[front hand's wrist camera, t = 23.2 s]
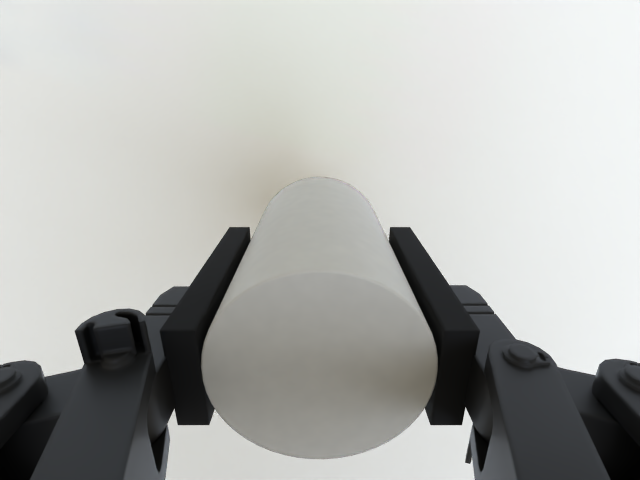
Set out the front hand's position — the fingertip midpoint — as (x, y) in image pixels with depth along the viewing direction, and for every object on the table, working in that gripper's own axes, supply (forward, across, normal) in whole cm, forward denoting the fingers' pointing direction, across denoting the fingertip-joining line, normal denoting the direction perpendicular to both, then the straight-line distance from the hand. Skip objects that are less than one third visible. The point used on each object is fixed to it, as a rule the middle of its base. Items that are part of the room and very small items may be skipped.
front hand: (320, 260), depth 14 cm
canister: (+2, 0, 0) cm, 2 cm away
